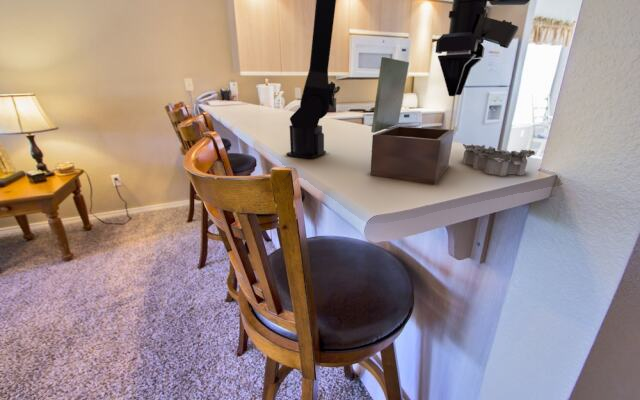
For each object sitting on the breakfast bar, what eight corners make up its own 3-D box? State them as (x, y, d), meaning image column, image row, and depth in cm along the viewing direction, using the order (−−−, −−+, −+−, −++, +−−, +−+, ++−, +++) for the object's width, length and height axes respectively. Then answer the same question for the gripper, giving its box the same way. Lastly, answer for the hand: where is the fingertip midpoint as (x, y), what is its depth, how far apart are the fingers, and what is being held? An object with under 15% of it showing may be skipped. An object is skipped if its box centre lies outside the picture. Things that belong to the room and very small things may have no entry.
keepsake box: (448, 166, 54) (454, 129, 52) (434, 184, 44) (440, 140, 42) (393, 159, 59) (396, 125, 57) (370, 174, 49) (372, 134, 47)
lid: (409, 62, 52) (405, 62, 52) (385, 57, 42) (381, 57, 43) (398, 124, 57) (395, 123, 57) (374, 132, 47) (371, 132, 47)
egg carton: (532, 176, 49) (539, 151, 47) (489, 177, 48) (494, 152, 47) (492, 160, 58) (497, 139, 57) (456, 161, 58) (460, 140, 56)
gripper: (522, -17, 42) (499, 98, 48) (520, 9, 57) (502, 94, 63) (441, -5, 48) (429, 97, 53) (458, 16, 63) (447, 94, 68)
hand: (455, 95), depth 59 cm, fingers open, 8 cm apart
